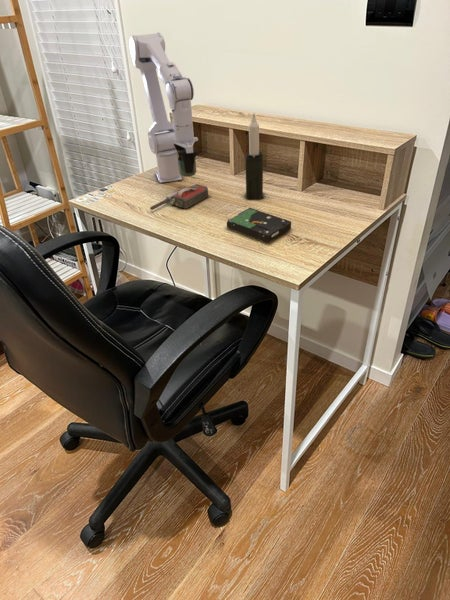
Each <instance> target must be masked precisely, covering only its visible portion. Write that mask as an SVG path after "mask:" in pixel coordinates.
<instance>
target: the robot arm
mask: <svg viewBox="0 0 450 600" xmlns="http://www.w3.org/2000/svg"><path fill="white" fill-rule="evenodd" d="M129 51H130V56H131V59H132V63H133V65H134V68H135V69H138V70H139V72H140V74H141V77H142V83H143V85H144V90H145V93H146V97H147V102H148V105H149V110H150V114H151V118H152V122H153V124H152V125H151V126H150V127H149V129H148V130H147V136H148V145H149V149H150V151H151V152H152V153H153V154H154V155H155V156H156V166H157V172H155V175H156V177H157V179H158V182H159V183H160V184H163V183H169V182H176V181H182V180H183V176H181V175H180V174H179V168H178V157H180V156H181V158H182V161H183V164H184V169H185V172H186V173H193V168H194V161H195V160H196V158H197V156H198V155H197V154H198V153H199V152H198V149H197V148H195V149H194V144H195V142H198V141H199V138H198V137H197V136H195V135H194V122H193V121H194V120H193V111H192V109H193V108H192V101H193V99H194V95H195V90H194V85H193V83H192V81H191V79H190V77H186V76H183V74H182V73H181V71H180V69H179V68H178V66H177V65H176V63H174V62H173V61H170V60H169V58H168V56H167V54H166V42H165V38H164V36H163V35H162V33H161V32H156V33H148V34H137V35H135V34H132V35H131V36H130V38H129ZM157 69H158V71H157ZM157 72H158V73H157ZM159 79H160V80H161V82H162V84H163V85H164V87H165V89H166V91H165V92H166V97H167V100H168V105H169V108H170V109H171V114H172V122H171V121H170V120H169V119H168V115H167V110H166V106H165V102H164V97H163V94H162V90H161V86H160V85H161V84H160V81H159Z"/></svg>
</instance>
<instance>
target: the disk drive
mask: <svg viewBox="0 0 450 600" xmlns="http://www.w3.org/2000/svg"><path fill="white" fill-rule="evenodd" d="M226 228H227V229H229V230H231V231H234V232H237V233H239V234H242V235H245V236H247V237H249V238H252V239H255V240H258V241H260V242H263V243H267V244H269V243H271V242H273V241H274V240H276V239H278V238H280V237H281V236H283V235H285V234H286V233H288V232H289V231H290V230H292V221H291V220H288V219H286V218H282V217H279V216H276V215H273V214H270V213H266V212H264V211H261V210H258V209H255V208H252V207H248V208H247V209H245V210H243V211H240V212H239V213H237V214H236V215H234V216H233V217H231V218H227V221H226Z"/></svg>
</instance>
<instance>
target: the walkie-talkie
mask: <svg viewBox="0 0 450 600" xmlns="http://www.w3.org/2000/svg"><path fill="white" fill-rule="evenodd" d="M207 198H209V187H207V186H205V185H202V184H198V183H196V184H191V186H189V187H188V186H185V187H183V188H181V189H179V190H177V191H174V192H172V193H170V194H167V195H165V199H164V200H162V201H159V202H157V203H155V204H153V205H152V206H149V209H150V210H151V211H153V210H155V209H157V208H159V207H161V206H162V205H164V204H168V203H170V205H172V206H175V207H177V208H182V209H185V210H186V209H189V208H190V207H192V206H194V205H196V204H198V203H200V202H201V201H203V200H205V199H207Z"/></svg>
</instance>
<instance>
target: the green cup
mask: <svg viewBox="0 0 450 600" xmlns="http://www.w3.org/2000/svg"><path fill="white" fill-rule="evenodd" d="M177 157H178V168H179V174H180V175H181V177H185V178H187V177H192V176H193V177H194V176H195V175H196V174H197V161H196V159H195V161H194V168H193V173H186V172H185V169H184V164H183V161H182V158H181V156H180V157H179V156H177Z"/></svg>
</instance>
